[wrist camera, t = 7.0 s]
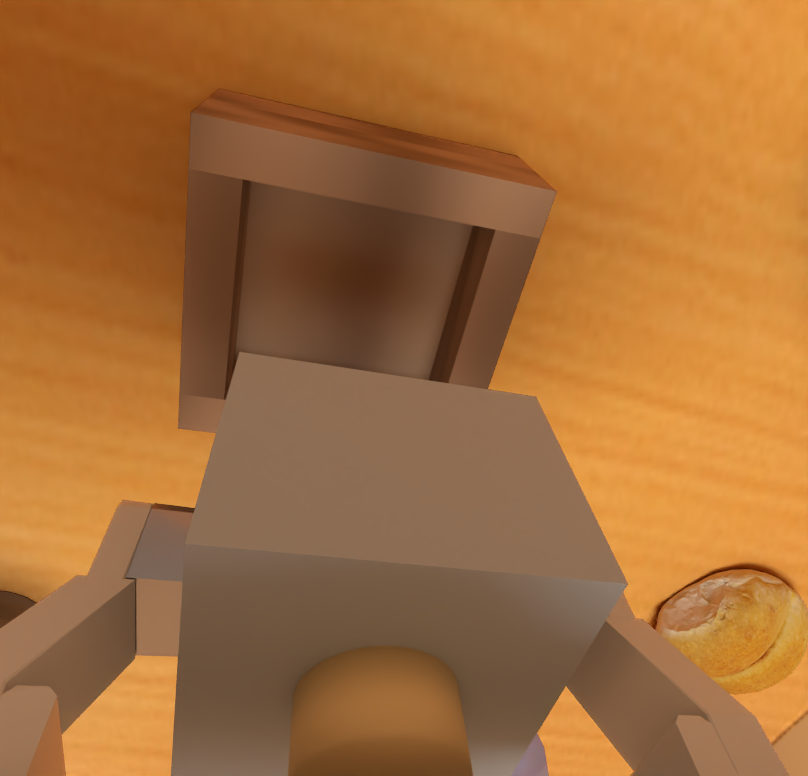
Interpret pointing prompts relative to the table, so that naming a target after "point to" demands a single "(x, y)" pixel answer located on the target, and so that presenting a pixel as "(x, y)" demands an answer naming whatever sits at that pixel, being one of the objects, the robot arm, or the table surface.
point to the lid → (380, 579)
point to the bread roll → (738, 628)
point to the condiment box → (346, 248)
